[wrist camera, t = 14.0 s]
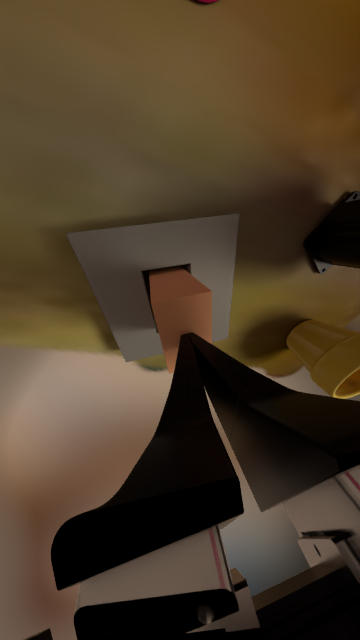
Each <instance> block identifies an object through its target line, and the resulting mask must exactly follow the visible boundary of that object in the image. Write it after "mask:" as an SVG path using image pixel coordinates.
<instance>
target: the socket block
mask: <svg viewBox="0 0 360 640" xmlns="http://www.w3.org/2000/svg"><path fill="white" fill-rule="evenodd" d="M239 216H240V213H237V214H229V215H220V216H211V217H202V218H194V219H185V220H176V221H168V222H159V223H150V224H142V225H133V226H124V227H116V228H107V229H98V230H90V231H81V232H72V233H66V234H67V237H68V239H69V241H70V243H71V245H72V247H73V250H74V252H75V254H76V256H77V258H78V260H79V262H80V265H81V267H82V269H83V271H84V273H85V275H86V277H87V280H88V282H89V284H90V286H91V288H92V290H93V292H94V295H95V297H96V299H97V301H98V303H99V305H100V308H101V310H102V312H103V314H104V316H105V318H106V320H107V323H108V325H109V327H110V329H111V331H112V333H113V335H114V338H115V340H116V342H117V344H118V346H119V348H120V351H121V353H122V355H123V357H124V359H125V361H126V362H129V361H133V360H138V359H142V358H146V357H150V356H155V355H159V354H163V353H164V352H163V348H162V344H161V340H160V336H159V332H158V328H157V325H156V322H155V318H154V314H153V310H152V306H151V302H150V298H149V294H148V289H147V285H146V281H145V277H144V273H143V270H150V269H156V268H163V267H169V266H175V265H182V264H185V270H186V271H187V272H188V273H190V274H191V275H192V276H193V277H195V278H196V279H197V280H198V281H200V282H201V283H202V284H203V285H205V286H206V287H207V288H209V289H210V290H211V291H212V342H215V341H219V340H223V339H227V338H228V330H229V320H230V309H231V299H232V289H233V278H234V268H235V258H236V247H237V237H238V227H239Z"/></svg>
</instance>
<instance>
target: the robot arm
mask: <svg viewBox="0 0 360 640" xmlns="http://www.w3.org/2000/svg"><path fill="white" fill-rule="evenodd" d="M304 246H305V249H306V251H307V253H308V255H309V257H310V259H311V261H312V263H313V265H314V267H315V269H316V271H317V273H320V274H323V273H324V272H326V271H327V270H328V269H329V268H330V267H331V266H332V265H339V266H346V267H353V268H360V192H359V191H354V192H351V193H350V194H349V195H348V196H347V197H346V198H345V199H344V200H343V201H342V202H341V203H340V204H339V205H338V206H337V207H336V209H335V210H334V211H333V212H332V213H331V214H330V215H329V216H328V217H327V218H326V219H325V220H324V221H323V222H322V223H321V224H320V225H319V226H318V227H317V228H316V229H315V230H314V231H313V232H312V233H311V235H310V236H309V237H308V238H307V239H306V240H305V242H304ZM204 387H205V389H204ZM205 390H206V392H207V394H208V396H209V398H210V400H211V403H212V405H213V407H214V409H215V412H216V413H217V416H218V418H219V420H220V422H221V425H222V427H223V429H224V431H225V433H226V436H227V438H228V440H229V442H230V445H231V447H232V449H233V451H234V454H235V456H236V458H237V460H238V462H239V464H240V467H241V469H242V471H243V473H244V475H245V478H246V480H247V482H248V484H249V487H250V489H251V491H252V493H253V495H254V498H255V500H256V502H257V504H258V506H259V508H260V511H261V512H263V511H266V510H268V509H271V508H273V507H276V506H278V505H280V504H283V505H284V507H285V509H286V510H287V512H288V514H289V516H290V518H291V520H292V522H293V524H294V526H295V528H296V530H297V532H298V533H299V536H300V538H298V539H297V540H298V543H299V545H300V547H301V549H302V551H303V553H304V555H305V557H306V559H307V561H308V563H309V565H310V567H311V568H309V569H307V570H305V571H303V572H301V573H299V574H297V575H295V576H293V577H291V578H289V579H287V580H285V581H283V582H281V583H279V584H277V585H275V586H273V587H271V588H269V589H266V590H264V591H262V592H260V593H259V594H256V595H254V596H252V597H251V595H250V591H249V588H248V584H247V581H246V579H245V578H244V577H243V576H242V575H241V574H240V573H239V571H238V570H237V569H236V568H233V569H231V570H229V565H228V561H227V557H226V553H225V550H224V546H223V542H222V538H221V534H220V529H223V528H224V527H225V526H227V525H228V524H229V523H231V522H232V521H233V520H235V519H236V518H237V517H239V516H240V515H241V514H243V513H244V508H243V502H242V495H241V488H240V481H239V479H238V476H237V474H236V472H235V469H234V467H233V465H232V463H231V460H230V458H229V456H228V453H227V451H226V449H225V446H224V444H223V442H222V439H221V437H220V435H219V432H218V430H217V428H216V425H215V423H214V421H213V418H212V415H211V411H210V408H209V404H208V400H207V396H206V392H205ZM51 562H52V567H53V572H54V577H55V581H56V586H57V590H62V589H65V588H68V587H71V586H74V585H77V584H79V583H80V588H79V593H78V598H77V603H76V609H75V614H74V626H75V631H76V636H77V640H360V401H354V400H347V399H341V398H335V397H328V396H322V395H315V394H309V393H303V392H298V391H295V390H291V389H289V388H287V387H285V386H282V385H281V384H279V383H277V382H275V381H273V380H271V379H269V378H267V377H265V376H264V375H262V374H260V373H258V372H256V371H254V370H252V369H251V368H249V367H247V366H245V365H244V364H242V363H240V362H239V361H237V360H236V359H234V358H232V357H231V356H229V355H228V354H226V353H225V352H223V351H221V350H220V349H218V348H217V347H215V346H214V345H212V344H211V343H209V342H208V341H206V340H204V339H203V338H201V337H200V336H198V335H197V334H195V333H193V332H191V333H187V334H182V335H181V337H180V342H179V348H178V353H177V358H176V364H175V369H174V374H173V379H172V384H171V388H170V392H169V395H168V398H167V401H166V404H165V407H164V410H163V413H162V416H161V419H160V422H159V424H158V427H157V429H156V432H155V434H154V436H153V438H152V440H151V441H150V443H149V445H148V446H147V448H146V449H145V451H144V453H143V454H142V455H141V457H140V459H139V460H138V462H137V464H136V465H135V466H134V468H133V470H132V471H131V473H130V475H129V476H128V478H127V479H126V481H125V482H124V484H123V485H122V487H121V488H120V489H119V491H118V492H117V493H116V494H115V495H114V496H113V497H112V498H111V499H110V500H109V501H108V502H106V503H105V504H103V505H102V506H100V507H98V508H96V509H93V510H90V511H87V512H84V513H82V514H79V515H77V516H75V517H73V518H71V519H69V520H67V521H66V522H65V523H64V524H63V525H62V526H61V527H60V528H59V530H58V532H57V533H56V535H55V537H54V541H53V544H52V548H51ZM24 640H53V639H52V635H51V631H50V628H49V629H47V630H44V631H42V632H40V633H37V634H35V635H33V636H30V637H28V638H26V639H24Z"/></svg>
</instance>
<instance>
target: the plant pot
mask: <svg viewBox="0 0 360 640" xmlns="http://www.w3.org/2000/svg"><path fill="white" fill-rule="evenodd" d="M286 344H287V346H288V347H289V349H290V350H291V351H292V352H293V353H294V354H295V355H296V357H297V358H298V359H299V360H300V361H301V363H302V364H303V365H304V366H305V367H306V368H307V370H308V371H309V372H310V376H311V378H312V380H313V381H314V382H315V383H316V384H317V385H318V386H319V387H321V388H322V389H323V390H324V391H325V392H326V393H328V394H329V395H330V396H331V397H335V398H341V399H346V398H350V397H353V396H355V395H358V394H360V332H356V331H353V330H349V329H345V328H341V327H338V326H334V325H330V324H327V323H323V322H319V321H316V320H307V321H304V322H302V323H300V324H299V325H297V326H296V327H295V328H294V329H293V330H292V331H291V332H290V333H289V335H288V337H287V340H286Z"/></svg>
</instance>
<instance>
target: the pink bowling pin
mask: <svg viewBox="0 0 360 640" xmlns="http://www.w3.org/2000/svg"><path fill="white" fill-rule="evenodd" d="M196 1H200V2H204V3H212V2H215V1H218V0H196Z"/></svg>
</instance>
